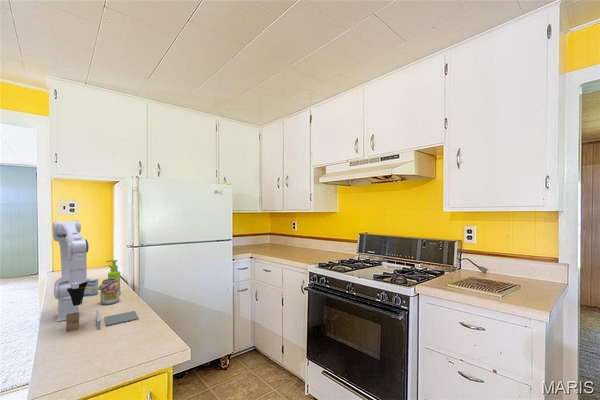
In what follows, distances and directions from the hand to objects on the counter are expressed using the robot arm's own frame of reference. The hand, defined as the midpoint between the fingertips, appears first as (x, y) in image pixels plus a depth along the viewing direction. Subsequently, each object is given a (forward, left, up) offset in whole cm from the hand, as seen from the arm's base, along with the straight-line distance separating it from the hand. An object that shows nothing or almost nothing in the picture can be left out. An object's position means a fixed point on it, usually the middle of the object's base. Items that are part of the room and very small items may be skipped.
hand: (78, 302), depth 119 cm
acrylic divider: (-1, +7, -11) cm, 13 cm away
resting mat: (-1, +15, -11) cm, 19 cm away
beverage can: (-32, +12, -11) cm, 36 cm away
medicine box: (-57, +4, -11) cm, 59 cm away
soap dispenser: (-47, +15, -11) cm, 51 cm away
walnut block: (-1, -2, -11) cm, 11 cm away
